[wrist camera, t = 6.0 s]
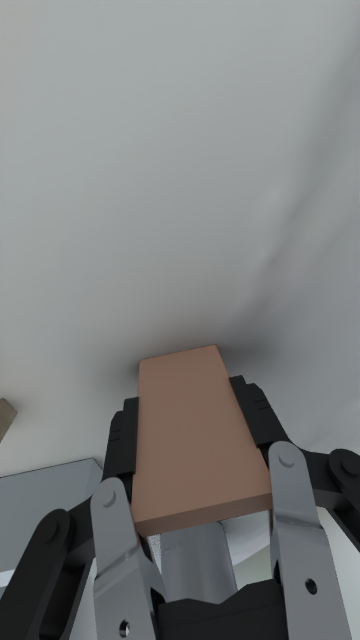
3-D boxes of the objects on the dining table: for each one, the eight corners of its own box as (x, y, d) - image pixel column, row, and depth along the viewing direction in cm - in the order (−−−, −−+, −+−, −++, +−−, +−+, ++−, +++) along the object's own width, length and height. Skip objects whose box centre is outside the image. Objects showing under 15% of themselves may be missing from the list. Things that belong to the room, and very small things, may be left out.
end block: (104, 473, 21) (90, 566, 16) (0, 496, 21) (-48, 597, 16) (93, 458, 19) (72, 556, 14) (-21, 482, 19) (-82, 590, 14)
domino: (217, 362, 15) (274, 508, 8) (145, 377, 15) (142, 537, 8) (215, 344, 14) (277, 491, 7) (139, 360, 14) (130, 523, 7)
